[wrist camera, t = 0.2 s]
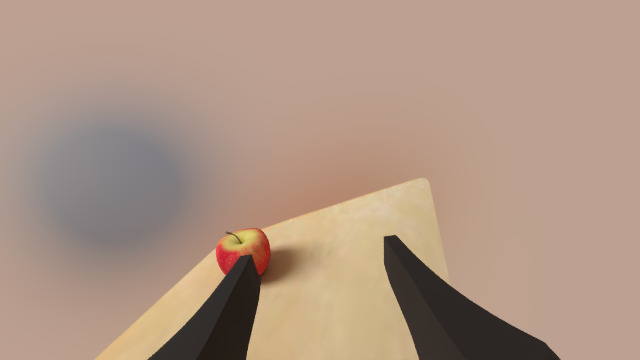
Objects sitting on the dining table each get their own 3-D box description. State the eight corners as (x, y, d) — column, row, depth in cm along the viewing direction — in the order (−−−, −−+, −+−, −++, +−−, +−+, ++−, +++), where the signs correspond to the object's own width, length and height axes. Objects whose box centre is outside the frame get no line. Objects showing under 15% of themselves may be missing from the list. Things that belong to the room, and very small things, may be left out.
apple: (215, 282, 39) (194, 235, 35) (251, 249, 46) (237, 205, 41) (250, 301, 35) (231, 250, 31) (284, 261, 42) (273, 215, 37)
